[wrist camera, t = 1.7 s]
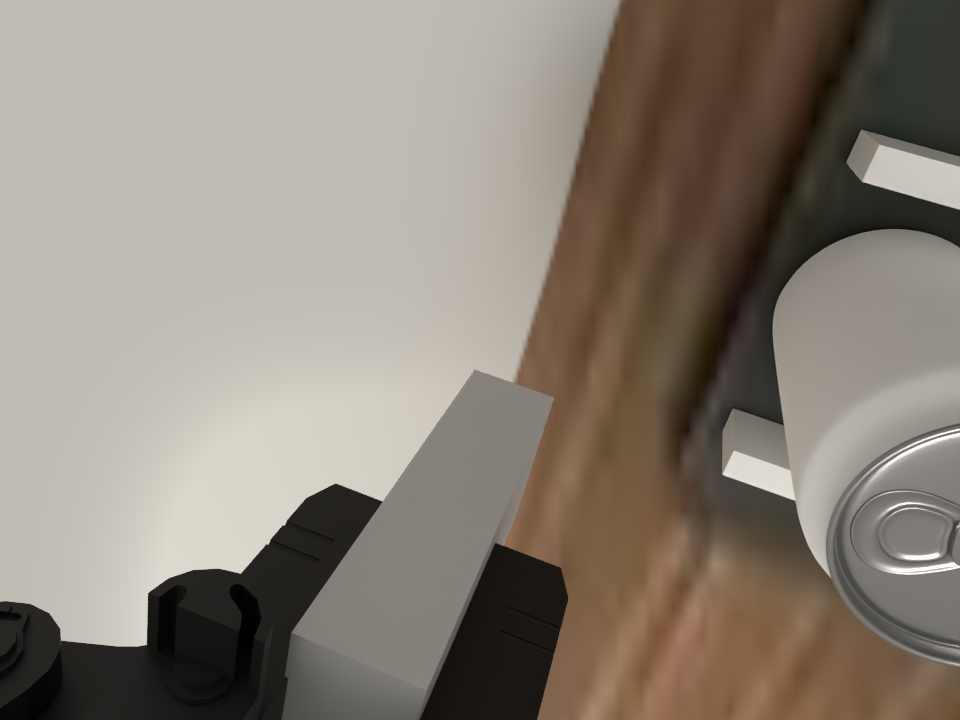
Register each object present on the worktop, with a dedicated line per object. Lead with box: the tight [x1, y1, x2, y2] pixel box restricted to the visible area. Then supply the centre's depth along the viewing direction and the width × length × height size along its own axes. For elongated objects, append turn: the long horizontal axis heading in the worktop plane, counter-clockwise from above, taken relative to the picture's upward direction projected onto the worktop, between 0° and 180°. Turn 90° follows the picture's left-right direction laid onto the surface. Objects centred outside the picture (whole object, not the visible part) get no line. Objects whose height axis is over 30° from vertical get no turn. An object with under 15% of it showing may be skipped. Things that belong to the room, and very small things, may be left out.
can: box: [773, 229, 960, 668], centre depth 19 cm, size 6×6×12 cm
